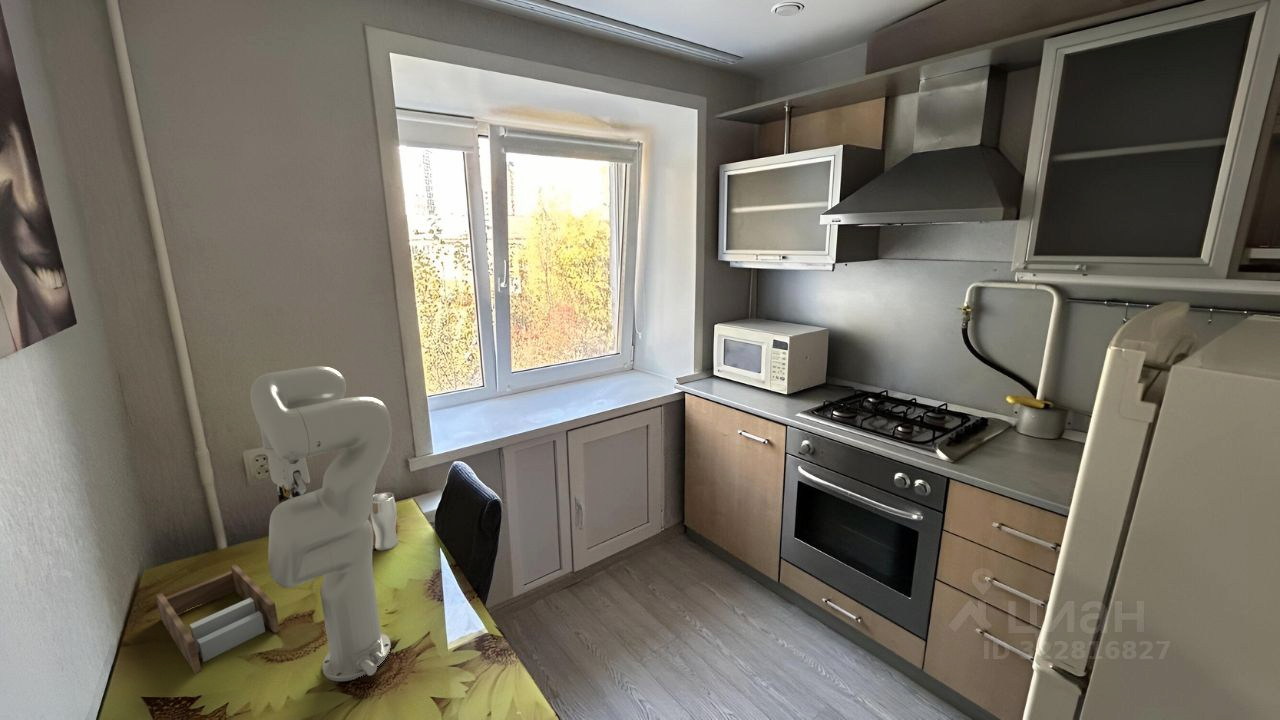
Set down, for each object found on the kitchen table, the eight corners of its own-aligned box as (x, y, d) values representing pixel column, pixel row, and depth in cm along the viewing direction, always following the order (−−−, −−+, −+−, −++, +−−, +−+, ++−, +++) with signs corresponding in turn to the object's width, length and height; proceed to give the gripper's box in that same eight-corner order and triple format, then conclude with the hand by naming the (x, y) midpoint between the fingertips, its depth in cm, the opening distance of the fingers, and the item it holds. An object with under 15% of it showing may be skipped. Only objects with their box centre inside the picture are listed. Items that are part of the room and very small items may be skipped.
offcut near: (258, 623, 119) (253, 600, 118) (197, 653, 110) (192, 628, 109) (254, 620, 120) (250, 597, 119) (194, 648, 111) (189, 624, 110)
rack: (279, 630, 116) (274, 603, 115) (195, 673, 104) (188, 643, 103) (238, 586, 132) (233, 562, 131) (160, 619, 120) (154, 592, 119)
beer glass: (405, 542, 152) (399, 495, 149) (382, 554, 146) (376, 505, 143) (391, 536, 155) (385, 490, 152) (368, 547, 149) (362, 499, 146)
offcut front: (265, 632, 116) (262, 614, 115) (203, 662, 108) (199, 643, 107) (262, 628, 117) (258, 610, 116) (201, 658, 109) (197, 639, 108)
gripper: (316, 441, 118) (327, 514, 122) (284, 429, 128) (295, 497, 131) (279, 451, 112) (292, 527, 116) (249, 438, 122) (261, 508, 125)
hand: (294, 510), depth 124 cm, fingers closed on utensil holder, 5 cm apart
